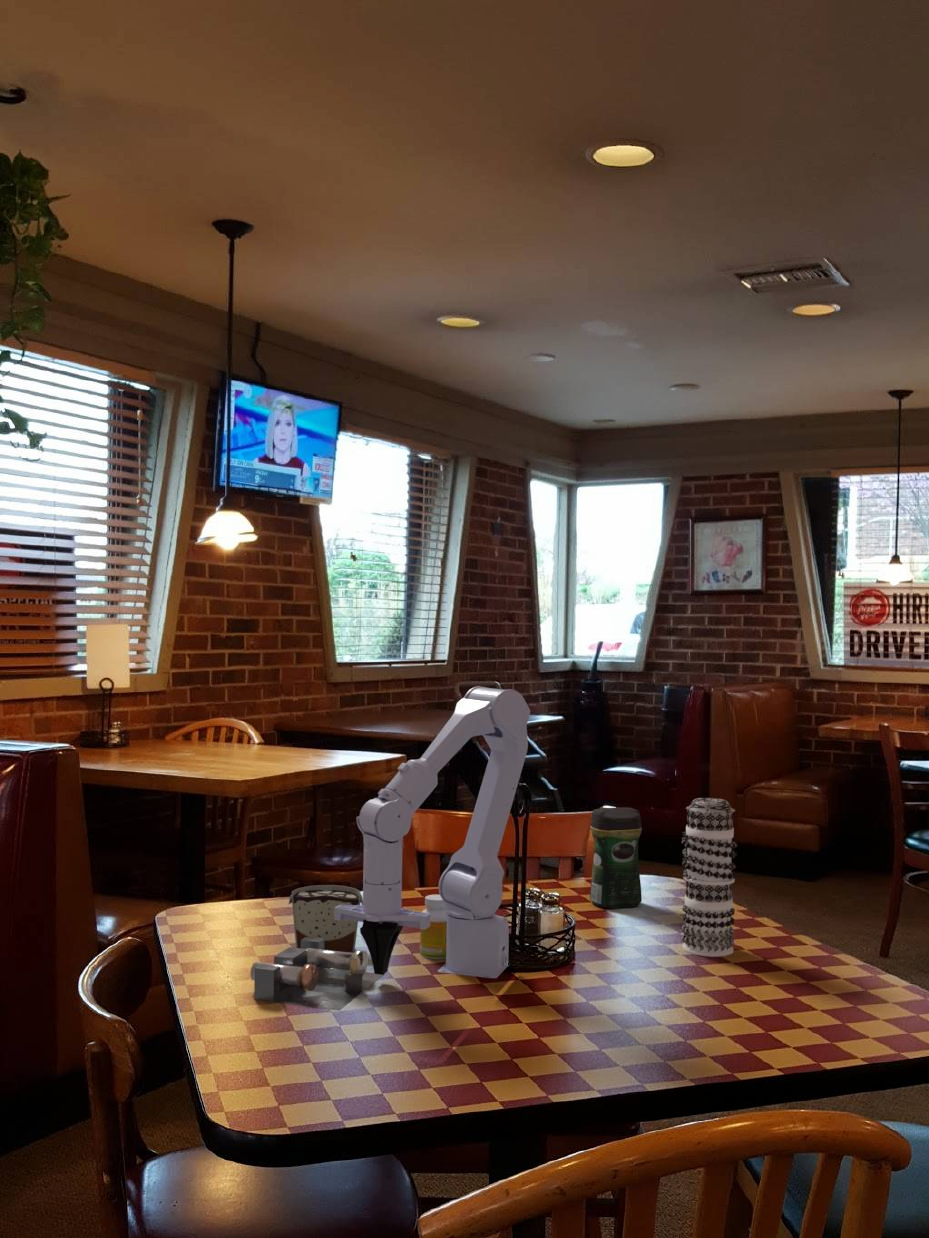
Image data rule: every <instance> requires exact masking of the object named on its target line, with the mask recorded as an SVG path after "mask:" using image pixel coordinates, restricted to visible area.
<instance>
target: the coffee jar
mask: <svg viewBox="0 0 929 1238" xmlns="http://www.w3.org/2000/svg"><path fill="white" fill-rule="evenodd" d="M641 820H642V819H641V814H640V812H639V810H637V809H634V808H632V807H605V808H595V809H593V810H592V814H591V822H590V832H591V834H592V837H593V859H592V869H591V870H592V871H591V880H590V890H589V899H590V902H591V903H592V904H593V905H595V906H597V907H601V908H602V907H603V908H608V909H609V908H611V909H618V908H630V907H636V906H639V905H640V904H641V903H642V884H641V874H640V866H639V865H640V863H639V840H640V836H641V833H642V831H643V830H642V822H641Z"/></svg>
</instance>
